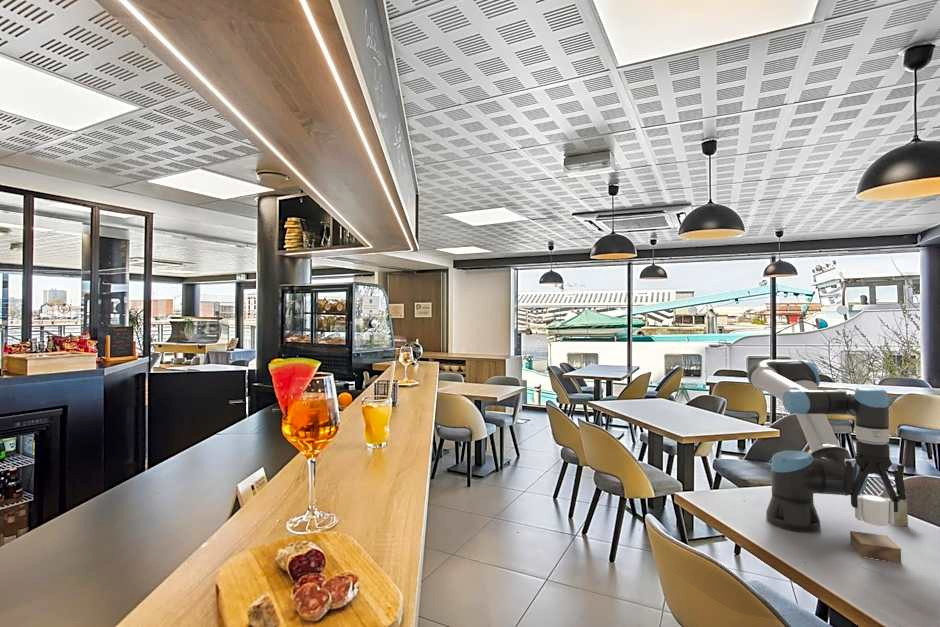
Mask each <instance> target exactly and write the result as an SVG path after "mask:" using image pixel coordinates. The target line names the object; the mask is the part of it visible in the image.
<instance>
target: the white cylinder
mask: <svg viewBox="0 0 940 627" xmlns="http://www.w3.org/2000/svg"><path fill="white" fill-rule="evenodd" d="M858 496H859V497H860V498H861V511H862V521H863V522H864V523H866V524H869V525H872V526H877V527H878V526H879V527H885V526H886V527H887V526H888V524H889V522H888V515H889V502H890V501H889V500H888V499H886V498H884V496H880V495H875V494H867V493H865V494H863V493H861V494H859V495H858Z"/></svg>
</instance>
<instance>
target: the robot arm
mask: <svg viewBox="0 0 940 627" xmlns="http://www.w3.org/2000/svg"><path fill="white" fill-rule="evenodd" d="M746 374H747V376H746V377H747V380H748V383H749V384H750V385H751V386H752V387H753V388H755V389H756V390H758V391H762V392H767V393H768V394H770V395H771V396H773V397H775V398H776V399H779V400H780V401H782V405H783V407H784V409H785V411H786V412H788V413H790V414H795V416H796V418H797V420H798V423H799V425H800V427H801V429H802V432H803V435H804V436H805V440H806V442H807V444H808V446H809V448H810V451H811V452H806V451H803V450H783V451H777V452H776V453H774V454H773V455H772V457H771V464H770V470H771V471H770V473H771V497H770V501H769V503H768V506H767V509H766V512H765V517H766V520H767V521H768V523H770V524H771V525H773V526H776V527H779V528H781V529H784V530H788V531H793V532H796V533H797V532H798V533H816V532H819V531H821V520H820V517H819V514H818V511H817V508H816V506H815V504H814V503H815V502H814V494H816V495H817V494H820V495H821V494H822V495H837V496H845V497H847V496H850V505H851V506H852V508H854V514H855V515H854V517H855V518H856V520H858V521H863V520H862V511H861V498H860V497H859V495H862V494H863V493H864V492H865V490H866V488H867V483H868V476H869V475H878V476H879V477H880V479H881V481H882V483H883V485H884V486H883V487H885V488H886V490H887V492H888V494H889V497H890V499H889V498H886V499H888V500H889V501H890V502H889V515H888V524H890V525H894V512H898V502H899V501H900V500H906V493H905V492H906V488H905V483H904V475H903V472H904V469H905V466H904V465H903V464H901V463H899V462H892V460H891V458H890V456H891V454H890V448H891V447H890V444H889V442H890V432H889V431H890V427H889V426H890V415H889V414H890V411H889V408H890V407H889V406H890V402H889V394H888V392H887V391H886V390H885V389H883V388H876V387H857V388H856V389H855V390H852V389H848V388H847V389H846V388H845V389H844V388H838V389H836V390H830V389H829V390H828V389H827V390H826V389H825V390H822V389H818V387H819V386H820V382H821V377H820V373H819V369H818V368H817V367H816V365H815V364H814V363H813V362H811V361H809V360H806V359H798V358H796V359H795V358H794V359H763V360H759V361H756V362H754V363H753V364H752V365H751V366H750V367H749V369H748V371H747V373H746ZM827 415H834V416H835V415H836V416H837V415H839V416H840V415H841V416H843V415H845V416H851V417H855V439H857V440H856V441H855V449H856V450H855V451H856V452H855V453H856V454H855V456H854V457H852V455H851V453H850V451H849V450H848V449H847V448H845V447H842V446H841V445H840V443H839V441H838V439H837V436H836V434H835V433H834V432H835V431H834V430H833V428H832V425H831V424H830V422H829V419H828V417H827ZM890 467H891V469H892V470H893V477H894V484H895V488H896V490H897V494H896V493H895V491H894V489H893V487H894V485H893V484H892V483H891V482H892V481H891V480H890V478H889V475H888V473H887V470H889V469H890ZM894 526H895V525H894Z"/></svg>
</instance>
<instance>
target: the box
mask: <svg viewBox="0 0 940 627" xmlns="http://www.w3.org/2000/svg"><path fill="white" fill-rule="evenodd" d="M893 489H894V491H895V493H896V494H897V490H896V487H894V486H893ZM882 490H883V494H882V495H883V497H884V498H889V499H890V497H889V494H888V492H887V490H886V488H885V486H883V487H882ZM905 493H906V500H900V501H899V502H898V512H894V524H896V525H895V526H904V525H907V526H909V518H908V512H909V511H908V497H907V496H908V494H907V493H908V492H906V491H905ZM907 526H906V527H907Z"/></svg>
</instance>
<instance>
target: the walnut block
mask: <svg viewBox="0 0 940 627" xmlns="http://www.w3.org/2000/svg"><path fill="white" fill-rule="evenodd" d="M849 534H850V535H849V537H850V539H849V540H850V544H849V545H850V546H851V547H852V546H853V547H854V548H853V547H852V548H853V550H854V551H855V552H856V551H857V552H858V553H859V554H860V555H859V554H858V553H857V552H856V553H857V554H858V555H859V557H860V558H861V557H867V558H873V559H872V560H874V559H879V560H878V561H881V560H885V561H884V562H888V561H891V562H890V563H895V562H896V564H902V549H901V547H899V545H897V544H896V543H895V541H894V540H892V538H890V537H889V536H888V535H885V534H877V533H871V532H870V533H869V532H863V531H862V532H861V531H853V530H850V532H849ZM867 558H866V559H867Z"/></svg>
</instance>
